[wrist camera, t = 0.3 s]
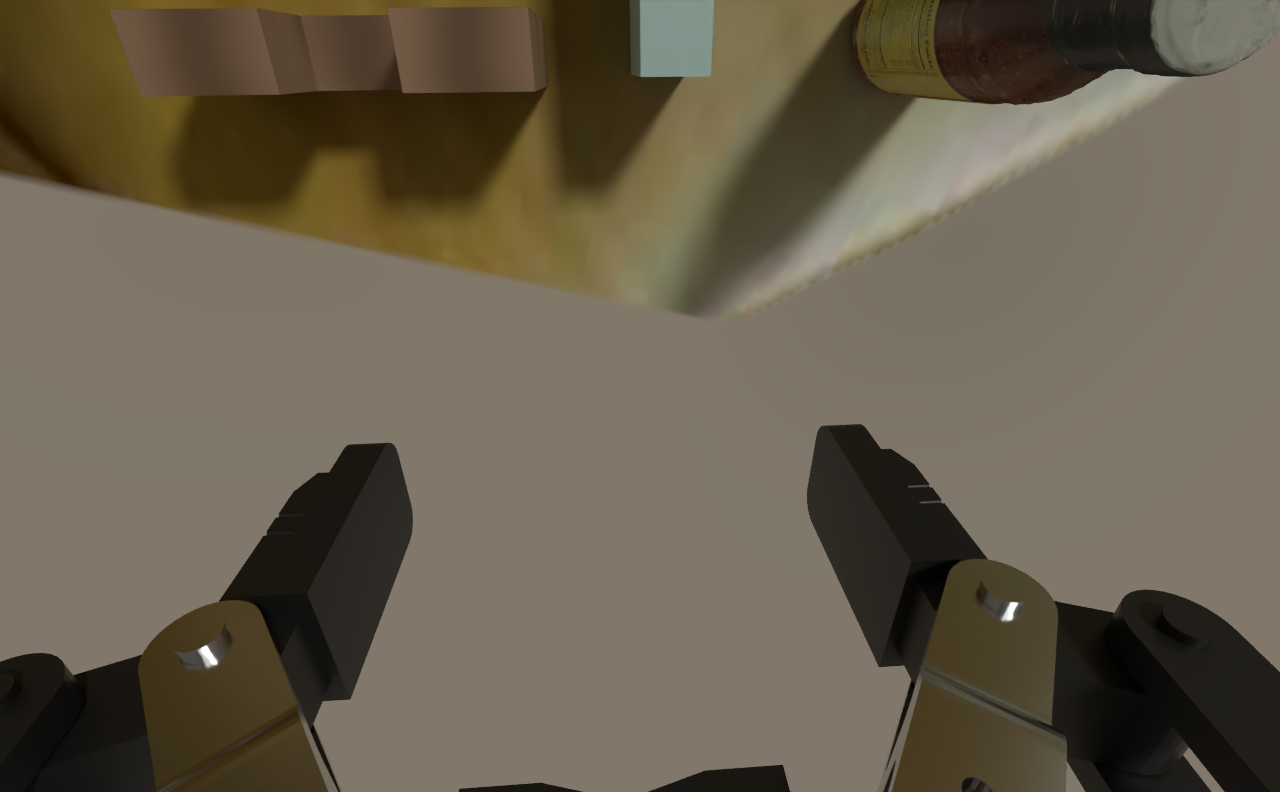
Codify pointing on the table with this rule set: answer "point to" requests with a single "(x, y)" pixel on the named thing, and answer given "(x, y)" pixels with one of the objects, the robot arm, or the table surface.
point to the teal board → (671, 37)
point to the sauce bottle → (1048, 43)
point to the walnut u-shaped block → (332, 51)
